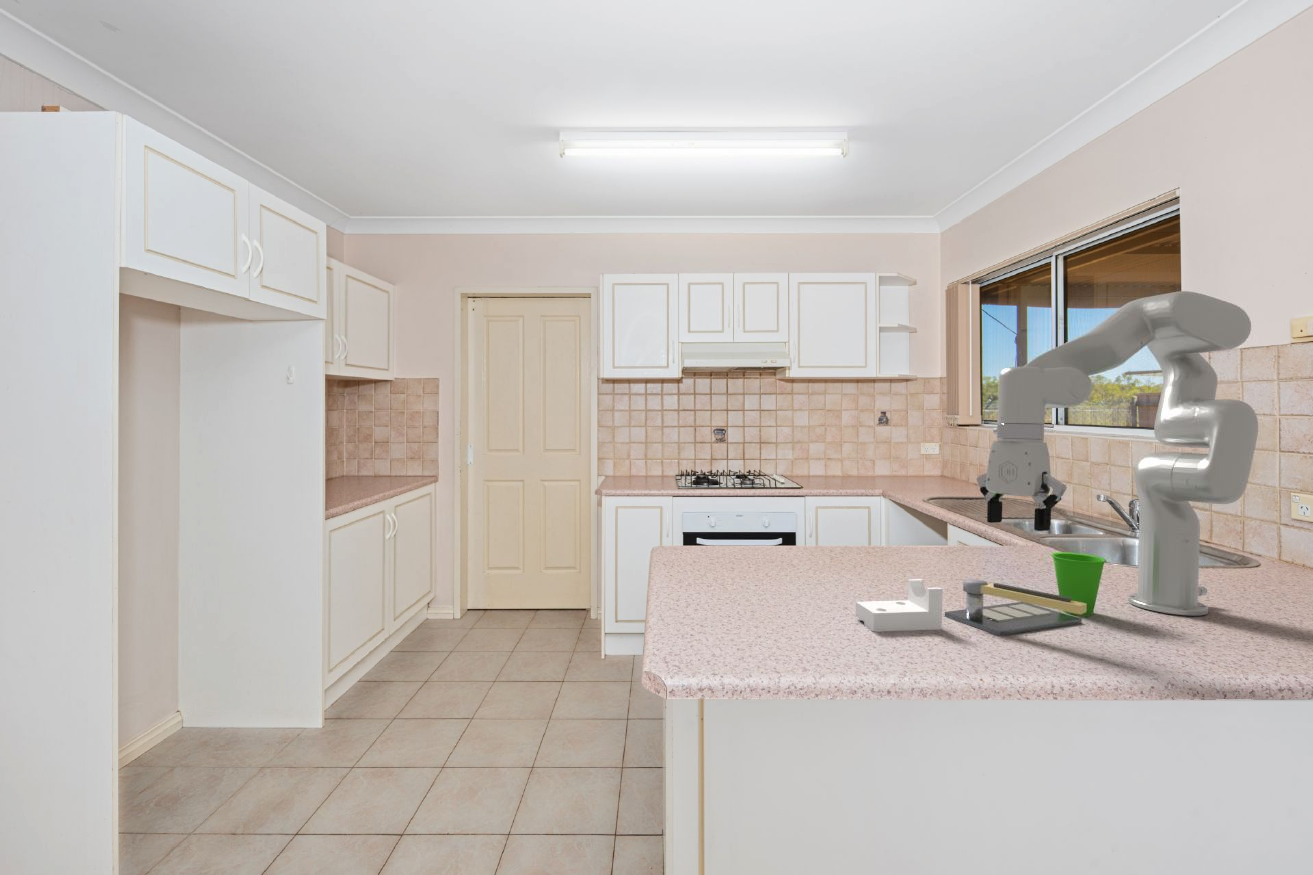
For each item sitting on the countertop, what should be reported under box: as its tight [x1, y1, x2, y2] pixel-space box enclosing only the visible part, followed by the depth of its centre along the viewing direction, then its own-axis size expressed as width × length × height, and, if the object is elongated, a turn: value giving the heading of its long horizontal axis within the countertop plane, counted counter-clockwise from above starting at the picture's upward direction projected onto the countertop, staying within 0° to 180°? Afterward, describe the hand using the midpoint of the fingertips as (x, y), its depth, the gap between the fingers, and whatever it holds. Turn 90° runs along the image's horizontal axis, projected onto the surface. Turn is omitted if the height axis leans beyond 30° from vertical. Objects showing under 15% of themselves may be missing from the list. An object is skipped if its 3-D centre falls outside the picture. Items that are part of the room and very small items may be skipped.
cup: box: [1050, 551, 1107, 617], centre depth 123 cm, size 9×9×11 cm
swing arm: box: [962, 578, 1087, 615], centre depth 109 cm, size 20×4×2 cm, turn 37°
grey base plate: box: [944, 592, 1083, 637], centre depth 118 cm, size 21×12×6 cm, turn 111°
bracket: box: [855, 578, 943, 632], centre depth 115 cm, size 13×7×8 cm, turn 98°
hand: (1017, 526), depth 116 cm, fingers open, 9 cm apart
